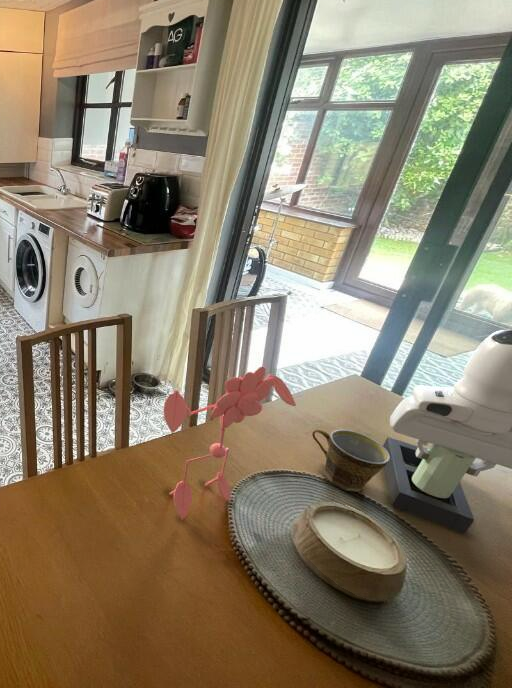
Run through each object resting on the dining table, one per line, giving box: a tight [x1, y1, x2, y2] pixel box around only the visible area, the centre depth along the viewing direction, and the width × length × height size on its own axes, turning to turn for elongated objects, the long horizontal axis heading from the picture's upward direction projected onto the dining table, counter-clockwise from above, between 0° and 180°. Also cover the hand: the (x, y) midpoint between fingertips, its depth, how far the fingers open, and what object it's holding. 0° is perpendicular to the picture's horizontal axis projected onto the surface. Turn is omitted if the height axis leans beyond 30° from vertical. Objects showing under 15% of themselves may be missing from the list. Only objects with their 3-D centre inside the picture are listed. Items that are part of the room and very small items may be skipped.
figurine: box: [144, 365, 297, 551], centre depth 75 cm, size 15×26×35 cm, turn 106°
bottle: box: [412, 444, 477, 499], centre depth 82 cm, size 6×6×15 cm
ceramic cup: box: [311, 429, 390, 493], centre depth 90 cm, size 13×10×10 cm
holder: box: [382, 436, 475, 534], centre depth 89 cm, size 11×20×4 cm, turn 145°
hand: (444, 464), depth 82 cm, fingers closed on bottle, 6 cm apart
